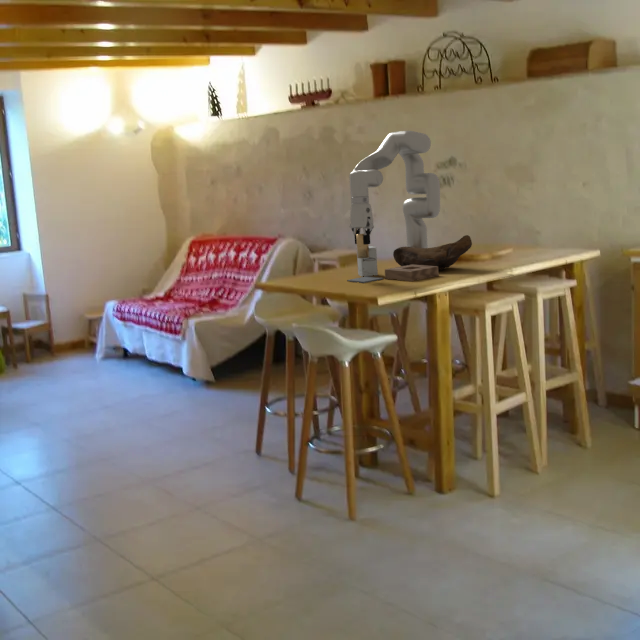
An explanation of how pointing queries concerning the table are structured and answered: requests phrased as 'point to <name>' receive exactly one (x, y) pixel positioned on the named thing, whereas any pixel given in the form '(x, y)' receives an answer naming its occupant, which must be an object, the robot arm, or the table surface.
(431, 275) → the bore block
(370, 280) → the slate mat
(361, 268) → the supplement box
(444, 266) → the driftwood
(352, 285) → the table surface
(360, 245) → the tan mottled cylinder
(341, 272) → the table surface
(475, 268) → the table surface
